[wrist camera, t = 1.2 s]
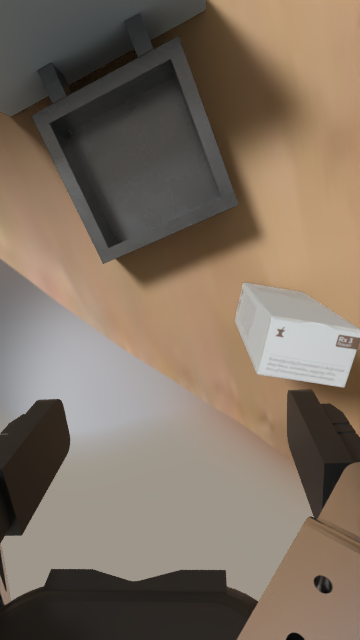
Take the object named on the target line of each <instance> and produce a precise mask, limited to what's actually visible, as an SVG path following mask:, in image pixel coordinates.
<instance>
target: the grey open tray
mask: <svg viewBox="0 0 360 640" xmlns="http://www.w3.org/2000/svg"><path fill="white" fill-rule="evenodd" d="M124 23H125V26H126V28H127V31H128V33H129V36H130V39H131V41H132V44H133V46H134V49H135V51H136V54H137V56H138V58H137V59H135V60H133V61H131V62H129V63H128V64H126V65H124V66H122V67H120V68H118V69H117V70H115V71H113V72H111V73H109V74H107V75H105V76H104V77H102V78H100V79H98V80H96V81H94V82H92V83H91V84H89V85H87V86H85V87H83V88H81V89H80V90H78V91H76V92H74V93H72V92H71V90H70V88H69V86H68V83H67V81H66V79H65V77H64V75H63V74H62V73H61V72H60V71H59V70H58V69H57V68H56V67H55V66H54V65H53V64H52V63H50V64H48V65H47V66H45V67H43V68H41V69H40V70H38V71H37V72H38V74H39V76H40V78H41V81H42V83H43V85H44V87H45V89H46V91H47V93H48V96H49V98H50V100H51V102H52V103H53V104H52V105H50V106H48V107H46V108H44V109H43V110H41V111H39V112H37V113H35V114H33V115H31V116H32V118H33V120H34V122H35V124H36V126H37V128H38V130H39V133H40V135H41V137H42V139H43V141H44V143H45V145H46V147H47V149H48V151H49V153H50V155H51V157H52V159H53V161H54V163H55V166H56V168H57V170H58V172H59V174H60V176H61V178H62V180H63V182H64V184H65V186H66V188H67V190H68V192H69V194H70V196H71V199H72V201H73V203H74V205H75V207H76V209H77V211H78V213H79V215H80V217H81V219H82V221H83V223H84V225H85V227H86V230H87V232H88V234H89V236H90V238H91V240H92V242H93V244H94V246H95V248H96V250H97V252H98V254H99V256H100V258H101V260H102V263H103V264H104V263H107V262H109V261H111V260H113V259H116V258H118V257H120V256H123V255H125V254H127V253H129V252H132V251H134V250H136V249H139V248H141V247H143V246H145V245H148V244H150V243H152V242H155V241H157V240H159V239H161V238H164V237H166V236H168V235H171V234H173V233H175V232H177V231H180V230H182V229H184V228H187V227H189V226H191V225H194V224H196V223H198V222H200V221H203V220H205V219H207V218H210V217H212V216H214V215H216V214H219V213H221V212H223V211H226V210H228V209H230V208H232V207H235V206H237V205H239V204H238V201H237V198H236V196H235V193H234V190H233V187H232V184H231V182H230V179H229V176H228V173H227V171H226V168H225V165H224V162H223V159H222V157H221V154H220V151H219V148H218V145H217V143H216V140H215V137H214V134H213V131H212V129H211V126H210V123H209V120H208V117H207V115H206V112H205V109H204V106H203V103H202V101H201V98H200V95H199V92H198V89H197V87H196V84H195V81H194V78H193V75H192V73H191V70H190V67H189V64H188V61H187V59H186V56H185V53H184V50H183V47H182V45H181V42H180V39H179V36H178V37H176V38H174V39H172V40H170V41H168V42H166V43H165V44H163V45H161V46H159V47H157V48H155V49H153V47H152V44H151V41H150V39H149V36H148V33H147V31H146V28H145V25H144V23H143V20H142V17H141V15H140V13H139V14H137V15H135V16H133V17H132V18H130V19H128V20H126V21H124Z"/></svg>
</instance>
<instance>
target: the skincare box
mask: <svg viewBox="0 0 360 640" xmlns="http://www.w3.org/2000/svg"><path fill="white" fill-rule="evenodd" d="M235 323H236V325H237V327H238V330H239V332H240V334H241V337H242V339H243V342H244V344H245V346H246V349H247V351H248V354H249V356H250V358H251V360H252V363H253V365H254V368H255V370H256V373H257V374H258V375H263V376H270V377H277V378H284V379H290V380H297V381H304V382H311V383H317V384H323V385H330V386H337V387H342V388H344V387H345V385H346V382H347V379H348V376H349V373H350V370H351V366H352V363H353V361H354V358H355V355H356V351H357V349H358V346H359V343H360V329H359V328H358V327H356V326H354V325H353V324H351V323H350V322H348V321H347V320H345V319H344V318H342V317H341V316H339V315H337V314H336V313H334V312H333V311H331V310H330V309H328V308H326V307H325V306H323V305H322V304H320V303H319V302H317V301H315V300H314V299H312V298H311V297H309V296H308V295H306V294H305V293H303V292H298V291H293V290H287V289H281V288H275V287H269V286H263V285H257V284H252V283H243V286H242V290H241V295H240V299H239V304H238V308H237V313H236V318H235Z"/></svg>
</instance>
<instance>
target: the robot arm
mask: <svg viewBox="0 0 360 640" xmlns="http://www.w3.org/2000/svg"><path fill="white" fill-rule="evenodd" d="M287 437H288V443H289V448H290V451H291V454H292V456H293V459H294V462H295V465H296V468H297V470H298V473H299V476H300V479H301V482H302V485H303V487H304V490H305V493H306V496H307V499H308V501H309V504H310V507H311V510H312V513H313V516H314V518H313V517H308V518H307V519H306V521H305V522H304V524H303V525H302V527H301V529H300V531H299V532H298V534H297V536H296V538H295V539H294V541H293V543H292V545H291V546H290V548H289V550H288V551H287V553H286V555H285V557H284V558H283V560H282V562H281V564H280V565H279V567H278V569H277V571H276V572H275V574H274V576H273V578H272V579H271V581H270V583H269V585H268V586H267V588H266V590H265V591H264V593H263V595H262V597H261V599H260V600H259V602H258V601H256V600H255V599H253V598H252V597H250V596H248V595H247V594H245V593H242V592H240V591H238V590H236V589H232V588H229V587H227V586H226V571H225V570H179V571H175V572H172V573H168V574H164V575H160V576H157V577H153V578H148V579H145V580H141V581H128V580H125V579H122V578H119V577H116V576H112V575H109V574H106V573H102V572H99V571H96V570H93V569H92V570H91V569H90V570H89V569H87V570H86V569H51V571H50V573H49V576H48V578H47V581H46V583H45V585H44V587H40V588H38V589H35V590H32V591H30V592H28V593H25V594H23V595H21V596H19V597H17V598H16V599H14V600H13V601H11V598H10V592H9V586H8V581H7V574H6V568H5V562H4V556H3V551H2V547H1V544H0V640H360V437H359V436H358V435H357V434H356V433H355V430H354V429H353V427H352V426H351V425H350V423H349V421H348V420H347V418H346V417H345V415H344V414H343V412H341V411H340V410H338V409H337V408H336V407H334V406H333V405H331V404H320V402H319V401H318V399H317V397H316V396H315V394H314V392H313V391H312V390H311V389H306V390H289V391H288V394H287ZM69 446H70V434H69V430H68V425H67V421H66V416H65V411H64V407H63V403H62V401H61V400H60V399H49V400H38V401H36V402H35V404H34V405H33V406H32V407H31V408H30V409H29V410H28V412H27V413H26V414H23V415H21V416H20V417H18V418H17V419H15V420H14V421H12V422H11V423H9V424H8V426H7V427H6V428H5V429H4V430H3V431H2V432H1V435H0V543H1V541H2V540H3V538H4V536H6V535H7V536H8V535H9V536H11V535H12V536H14V535H22V534H23V532H24V531H25V529H26V527H27V525H28V523H29V522H30V520H31V518H32V516H33V514H34V513H35V511H36V509H37V507H38V506H39V504H40V502H41V500H42V498H43V496H44V495H45V493H46V491H47V489H48V487H49V486H50V484H51V482H52V481H53V479H54V477H55V475H56V473H57V472H58V470H59V468H60V466H61V464H62V462H63V461H64V459H65V457H66V455H67V453H68V451H69Z"/></svg>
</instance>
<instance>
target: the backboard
mask: <svg viewBox="0 0 360 640" xmlns="http://www.w3.org/2000/svg"><path fill="white" fill-rule="evenodd" d="M205 10H206V0H0V112H2V113H4V114H6V115H8V116H10V117H11V116H13V115H15V114H17V113H19V112H20V111H22V110H24V109H26V108H28V107H29V106H31V105H33V104H35V103H37V102H39V101H40V100H42V99H44V98H46V97H48V93H47V91H46V89H45V87H44V85H43V83H42V81H41V78H40V76H39V74H38V72H37V71H38V70H40V69H41V68H43V67H45V66H47V65H48V64H50V63H52V64H53V65H54V66H55V67H56V68H57V69H58V70H59V71H60V72H61V73H62V74H63V75H64V77H65V79H66V81H67V83H68V85H70V84H72V83H73V82H75V81H77V80H79V79H81V78H83V77H84V76H86V75H88V74H90V73H92V72H93V71H95V70H97V69H99V68H101V67H103V66H104V65H106V64H108V63H110V62H112V61H114V60H115V59H117V58H119V57H121V56H123V55H125V54H126V53H128V52H130V51H132V50H134V46H133V44H132V41H131V39H130V36H129V33H128V31H127V28H126V26H125V23H124V21H126V20H128V19H130V18H132V17H133V16H135V15H137V14H139V13H140V15H141V17H142V20H143V23H144V25H145V28H146V31H147V33H148V36H149V39H150V40H152V39H154V38H156V37H158V36H159V35H161V34H163V33H165V32H167V31H168V30H170V29H172V28H174V27H176V26H178V25H179V24H181V23H183V22H185V21H187V20H189V19H190V18H192V17H194V16H196V15H198V14H200V13H201V12H203V11H205Z"/></svg>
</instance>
